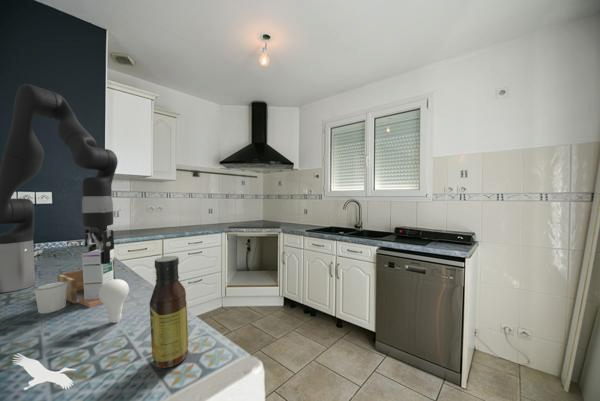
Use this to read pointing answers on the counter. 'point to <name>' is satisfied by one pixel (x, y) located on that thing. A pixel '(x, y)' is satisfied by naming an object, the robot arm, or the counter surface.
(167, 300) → the sauce bottle
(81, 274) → the wooden box
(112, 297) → the lightbulb
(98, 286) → the syrup box
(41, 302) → the white short cylinder
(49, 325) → the counter surface
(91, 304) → the tile pad
